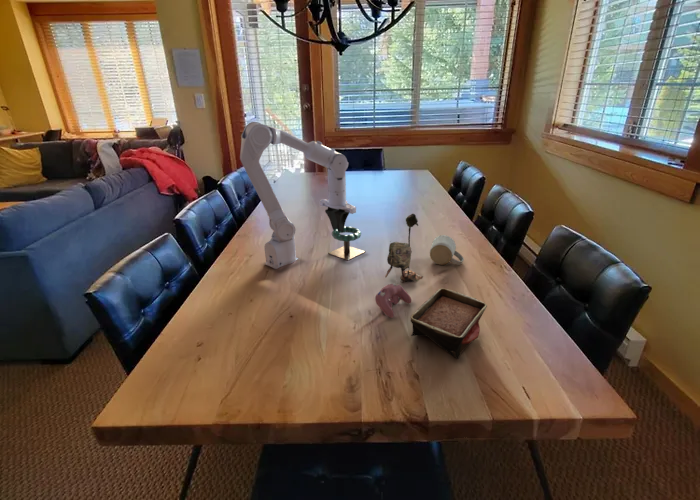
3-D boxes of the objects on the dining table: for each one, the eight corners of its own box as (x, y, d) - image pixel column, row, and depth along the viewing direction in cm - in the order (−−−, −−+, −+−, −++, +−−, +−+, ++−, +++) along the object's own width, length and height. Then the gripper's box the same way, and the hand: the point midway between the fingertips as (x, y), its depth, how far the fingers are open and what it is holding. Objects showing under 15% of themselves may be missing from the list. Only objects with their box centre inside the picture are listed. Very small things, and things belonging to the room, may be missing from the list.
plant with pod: (383, 274, 114) (384, 211, 106) (420, 274, 114) (424, 211, 106) (385, 287, 106) (387, 221, 98) (425, 287, 106) (430, 220, 98)
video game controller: (400, 303, 101) (391, 279, 100) (414, 302, 98) (404, 277, 97) (379, 320, 94) (369, 294, 93) (393, 318, 91) (383, 292, 90)
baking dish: (490, 339, 87) (495, 299, 84) (455, 370, 74) (460, 323, 71) (434, 321, 96) (438, 284, 94) (395, 345, 83) (397, 303, 80)
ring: (347, 244, 118) (347, 238, 117) (326, 236, 124) (325, 231, 123) (366, 236, 125) (366, 230, 124) (345, 229, 131) (345, 223, 130)
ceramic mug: (428, 264, 119) (430, 242, 116) (431, 254, 126) (433, 233, 123) (462, 269, 116) (465, 246, 113) (463, 258, 123) (466, 237, 120)
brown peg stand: (348, 263, 121) (347, 245, 119) (328, 256, 127) (327, 239, 124) (365, 254, 127) (365, 237, 125) (345, 248, 133) (345, 231, 130)
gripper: (362, 191, 119) (362, 231, 124) (329, 184, 128) (330, 222, 133) (347, 195, 114) (348, 237, 120) (314, 188, 123) (316, 227, 128)
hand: (338, 229), depth 126 cm, fingers closed on ring, 2 cm apart
